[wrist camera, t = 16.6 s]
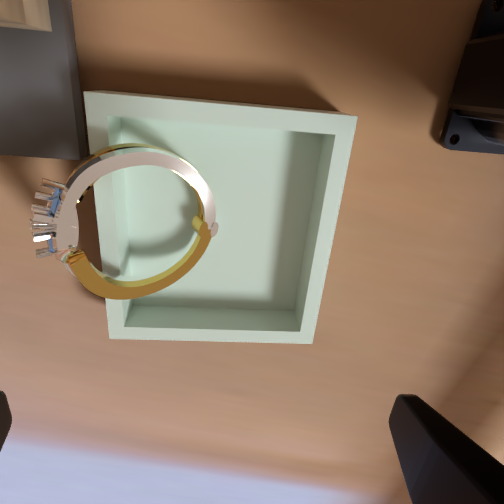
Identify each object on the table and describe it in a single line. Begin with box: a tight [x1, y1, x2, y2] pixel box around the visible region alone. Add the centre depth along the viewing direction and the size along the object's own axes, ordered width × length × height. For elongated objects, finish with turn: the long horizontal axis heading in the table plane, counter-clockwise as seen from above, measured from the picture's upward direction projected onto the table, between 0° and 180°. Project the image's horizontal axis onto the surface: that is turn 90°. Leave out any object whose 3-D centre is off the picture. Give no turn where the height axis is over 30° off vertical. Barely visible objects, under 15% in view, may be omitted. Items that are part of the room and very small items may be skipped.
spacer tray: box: [84, 90, 358, 344], centre depth 18 cm, size 11×12×2 cm
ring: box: [30, 143, 219, 300], centre depth 16 cm, size 7×3×8 cm
